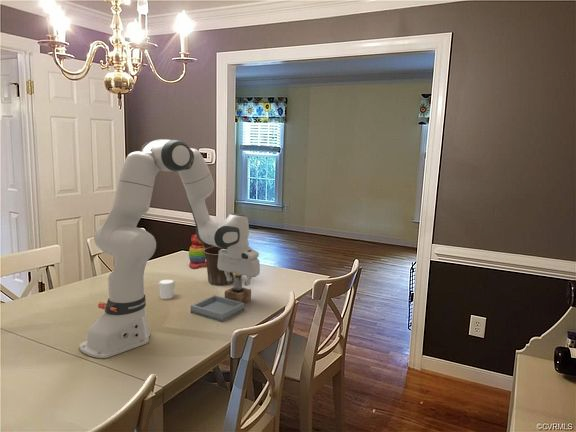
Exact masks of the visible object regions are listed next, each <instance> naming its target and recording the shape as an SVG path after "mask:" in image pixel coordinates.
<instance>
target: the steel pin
mask: <svg viewBox="0 0 576 432" xmlns="http://www.w3.org/2000/svg"><path fill="white" fill-rule="evenodd" d="M233 276H234V279H233V287H234V292H238V293H240V292H242V285H243V283H242V282H243V276H244V275H241V274H238V273H234V272H233Z"/></svg>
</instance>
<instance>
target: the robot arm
mask: <svg viewBox="0 0 576 432" xmlns="http://www.w3.org/2000/svg"><path fill="white" fill-rule="evenodd" d="M160 171H162V172H177V174H178V176H179V177H180V180H181V182H182V185H183V188H184V189H185V192H186V193H185V194H186V197H187V201H188V205H189V208H190V211H191V214H192V217H193V220H194V224H195V234H196V236H197V238H198V240H199V241H200V242H201V243H203V245H210V246H212V247H214V246H216V247H219V248H226V247H228V250H227V249H221V250H220V251H219V257H218V264H217V267H218V269H219V270H223V271H224V273H225V275H226V277H227V281H229V282H230V281H232V277H230V274H229V273H230V272H232V273H233V272H234V273H238V274H241V275H243V276H246V280H244V282H243V283H244V286H250V285H251V283H250V282H251V280H252V278H255V277H258V276H259V275H260V272H261V269H260V268H261V266H260V259H259V258H258V257H259V255H260V253H259V251H256V250H255V249H253V248H251V247H250V246H249V245H250V244H249V236H250V234H249V232H250V229H249V227H250V226H249V225H250V224H249V220H248V217H247V216H246V215H244V214H241V213H234V212H232V213H230V214H229V215H228V216H227V217H226V219H224V220H222V221H221V222H218V221H215V220H213V219H212V218H211V217H210V214H209V210H208V207H207V205H206V199H207V198H208V197H210V196H211V195H212V193H213V191H214V190H215V184H214V183H215V181H214V179H213V176H212V173H211V171H210V167H209V165H208V164H207V162H206V160H205V158H204V157H203V155H202V154H201V152H200V151H199V149H197V148H193V147H190V146H189V145H188V144H187V143H185V142H184V141H181V140H179V139H167V138H163V139H162V138H161V139H153V140H149V141H147V142H145V143H144V144H143V145H142V146H141V148H140V150H137V151H133V152H130V153H129V154H127V156H126V158H125V160H124V163H123V166H122V168H121V171H120V174H119V179H118V183H117V188H116V191H115V192H116V193H115V196H114V199H113V200H114V201H113V203H112V207H111V209H110V211H109V213H108V215H107V216H106V219H105V220H104V222H103V223H102V224H101V225H99V226H98V227H97V229H96V230H95V232H94V235H93V241H94V244H95V245H96V247H97V248H99V250H101V251H102V252H103V253H105V254H107V255H110V256H113V257H114V258H115V263H114V268H113V270H112V272H110V273H109V274H108V277H107V281H108V298H107V302H106V303H105V302H103V301H100V302H99V303H98V304H97V307H98V309H101V310H104V311H103V313H102V314H101V315H99V317H98V318H97V319H96V320H95V321H94V322H93V323H92V324H91V326H90V327H89V328H88V330H87V334H86V340H84V341H83V342H80V343H79V350H80V352H82V353H83V354H85V355H86V356H90V357H93V358H97V359H107V358H110V357H113V356H116V355H119V354H121V353H124V352H127V351H129V350H132V349H135V348H138V347H140V346H144V345H147V344H148V343H149V342H150V340H149V337H150V335H151V331H150V327H149V324H148V322H147V321H148V320H147V316H146V305H147V303H146V294H145V287H144V286H145V285H144V284H145V280H144V279H145V278H144V277H145V270H146V267H147V264H148V262H149V260H150V259H151V258H152V257H153V255H154V254H155V252H156V249H157V241H156V239H155V236H154V235H153V234H152V233H150V232H149V231H147V230H146V229H144V228H141V227H137V226H138V223H139V221H140V220H141V219H142V217H143V216H144V215H145V214H147V212H149V209H150V205H151V202H152V196H153V190H154V186H155V179H156V177H157V175H158V173H159V172H160Z"/></svg>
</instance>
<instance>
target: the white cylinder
mask: <svg viewBox="0 0 576 432" xmlns="http://www.w3.org/2000/svg"><path fill="white" fill-rule="evenodd" d="M157 283H158V289H159V290H158V291H159V297H160V300H161V299H162V300H170V299H172V298H174V297H175V296H174V295H175V280H174V279H171V278H170V279H168V278H167V279H160V280H159V281H158V282H157Z"/></svg>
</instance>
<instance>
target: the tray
mask: <svg viewBox="0 0 576 432" xmlns="http://www.w3.org/2000/svg"><path fill="white" fill-rule="evenodd" d="M245 304H246V303H242V302H238V301H235V300H231V299H227V298H225V297H222V296H219V295H217V294H216V295H215V294H214V295H211V296H209V297H206V298H205V299H203V300H201V301H197V302H196V303H194V304H193V303H192V304H191V305H190V314H194V315H196V316H197V315H198V316H201V317H203V318H208V319H210V320H214V321H217V322H221V323H224V322H225V321H227V320H229V319H230V318H232V317H234V316H236V315H238V314H240V313H242V312H244V311H245Z"/></svg>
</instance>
